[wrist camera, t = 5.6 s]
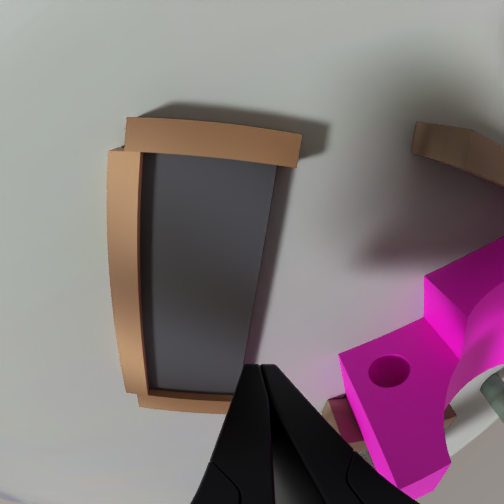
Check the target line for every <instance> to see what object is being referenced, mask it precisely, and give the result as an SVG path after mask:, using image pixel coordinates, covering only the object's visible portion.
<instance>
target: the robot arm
mask: <svg viewBox="0 0 504 504" xmlns="http://www.w3.org/2000/svg"><path fill="white" fill-rule="evenodd" d="M190 504H419V503H418V502H417V501H415V500H414V499H412V498H411V497H409V496H408V495H407V494H405V493H404V492H403V491H401V490H400V489H398V488H397V487H396V486H394V485H393V484H392V483H391V482H389V481H388V480H387V479H386V478H384V477H383V476H382V475H381V474H379V473H378V472H377V471H376V470H375V469H374V468H373V467H372V466H371V465H369V464H368V463H367V462H366V461H365V460H364V459H363V458H362V457H361V456H360V455H359V454H358V453H357V452H356V451H354V449H353V448H352V447H351V446H350V445H349V444H348V443H347V442H346V441H345V440H344V439H343V438H342V436H341V435H340V434H339V433H338V432H337V431H336V430H335V429H334V428H333V427H332V426H331V425H330V424H329V423H328V422H327V421H326V420H325V419H324V417H323V416H322V415H321V414H320V413H319V412H318V411H317V410H316V409H315V408H314V407H313V406H312V405H311V403H310V402H309V401H308V400H307V399H306V398H305V397H304V396H303V395H302V394H301V392H300V391H299V390H298V389H297V388H296V387H295V386H294V385H293V384H292V382H291V381H290V380H289V379H288V378H287V377H286V376H285V375H284V373H283V372H282V371H281V370H280V369H279V368H278V367H277V366H276V365H275V364H262V365H258V364H245V365H244V366H243V369H242V372H241V375H240V378H239V381H238V383H237V386H236V389H235V392H234V395H233V398H232V401H231V403H230V406H229V409H228V412H227V415H226V417H225V420H224V423H223V426H222V428H221V431H220V434H219V437H218V439H217V442H216V445H215V448H214V450H213V453H212V456H211V458H210V462H209V463H208V466H207V469H206V471H205V474H204V476H203V479H202V481H201V483H200V486H199V488H198V490H197V492H196V494H195V496H194V498H193V500H192V501H191V503H190Z"/></svg>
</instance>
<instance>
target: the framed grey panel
mask: <svg viewBox="0 0 504 504" xmlns="http://www.w3.org/2000/svg"><path fill="white" fill-rule="evenodd" d="M301 139H302V135H301V134H296V133H290V132H284V131H278V130H272V129H266V128H259V127H252V126H244V125H236V124H227V123H218V122H208V121H197V120H184V119H168V118H145V117H127V122H126V133H125V145H124V148H116V149H113V150H110V151H108V167H107V240H108V260H109V274H110V286H111V297H112V306H113V315H114V323H115V330H116V337H117V344H118V350H119V357H120V362H121V368H122V373H123V379H124V384H125V389H126V392H127V393H134V394H137V397H138V402H139V407H144V408H152V409H160V410H170V411H180V412H193V413H210V414H227V412H228V409H229V406H230V403H231V401H232V398H233V395H234V392H235V389H236V386H237V383H238V381H239V378H240V375H241V372H242V367H243V362H244V356H245V351H246V345H247V339H248V334H249V328H250V322H251V317H252V311H253V305H254V299H255V294H256V288H257V282H258V276H259V270H260V265H261V259H262V253H263V247H264V241H265V235H266V229H267V223H268V217H269V211H270V205H271V199H272V193H273V187H274V181H275V175H276V169H277V165H280V166H286V167H293V168H297V163H298V157H299V151H300V145H301ZM411 153H413V154H417V155H420V156H423V157H426V158H429V159H432V160H435V161H437V162H440V163H443V164H446V165H449V166H451V167H454V168H457V169H459V170H462V171H464V172H467V173H470V174H472V175H475V176H477V177H479V178H482V179H484V180H487V181H489V182H491V183H494V184H496V185H498V186H500V187H503V188H504V148H503V147H502V146H500V145H498V144H497V143H495V142H493V141H491V140H489V139H488V138H486V137H484V136H482V135H480V134H478V133H477V132H475V131H473V130H469V129H463V128H457V127H450V126H444V125H436V124H428V123H420V122H416V128H415V134H414V140H413V145H412V150H411ZM480 391H481V392H482V394H483V395H484V397H485V398H486V399H487V401H488V402H489V403H490V405H491V406H492V408H493V409H494V410H495V412H496V413H497V415H498V416H499V418H500V419H501V420H502V422H503V423H504V382H503V381H502V379H501V378H500V377H499V376H498V375H497V374H493V375H492V376H490V377H489V378H488V379H487V380H486V381H485V382H484V383H483V385H482V386H481V388H480ZM322 416H323V417H324V419H325V420H326V421H327V422H328V423H329V424H330V425H331V426H332V427H333V428H334V429H335V430H336V431H337V432H338V433H339V434H340V435H341V436H342V438H343V439H344V440H345V441H346V442H347V443H348V444H349V445H350V446H351V447H352V448H353V449H354V451H356V452H360V451H365V450H368V448H367V446H366V443H365V441H364V438H363V436H362V434H361V431H360V429H359V426H358V424H357V421H356V419H355V417H354V414H353V412H352V409H351V407H350V405H349V402H348V400H347V398H343V399H331V400H328V401H327V403H326V405H325V407H324V409H323V411H322ZM456 417H457V415H456V413H455V412H454V410H453V409H452V407H451V406H450V404H448V406H447V408H446V409H445V411H444V429H446V428H448V426H449V425H450V424H451V423H452V422H453V420H454V419H455V418H456Z"/></svg>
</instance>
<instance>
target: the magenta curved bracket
mask: <svg viewBox="0 0 504 504" xmlns="http://www.w3.org/2000/svg"><path fill="white" fill-rule="evenodd" d="M338 355H339V360H340V365H341V371H342V376H343V381H344V387H345V392H346V397H347V400H348V402H349V405H350V407H351V409H352V412H353V414H354V417H355V419H356V421H357V424H358V426H359V429H360V431H361V434H362V436H363V438H364V441H365V443H366V446H367V448H368V451H369V453H370V456H371V458H372V461H373V463H374V466H375V468H376V471H377V472H378V473H379V474H381V475H382V476H383V477H384V478H386V479H387V480H388V481H389V482H391V483H392V484H393V485H394V486H396V487H397V488H398V489H400V490H401V491H403V492H404V493H405V494H407V495H408V496H409V497H411V498H412V499H414V500H415V499H417V498H419V497H421V496H423V495H425V494H427V493H429V492H431V491H433V490H434V489H435V488H436V486H437V485H438V483H439V482H440V480H441V478H442V477H443V475H444V474H445V472H446V471H447V469H448V468H449V466H450V464H451V460H450V457H449V454H448V450H447V445H446V440H445V432H444V411H445V409H446V408H447V406H448V404H449V403H450V402H451V400H452V399H453V398H454V396H455V395H456V394H457V393H458V392H459V391H460V390H461V389H462V388H463V387H464V386H465V385H466V384H467V383H468V382H470V381H471V380H472V379H473V378H475V377H476V376H478V375H479V374H481V373H483V372H484V371H486V370H488V369H490V368H493V367H495V366H498V365H501V364H504V236H503V237H502V238H500V239H498V240H496V241H494V242H492V243H490V244H488V245H487V246H485V247H483V248H481V249H479V250H477V251H475V252H473V253H471V254H469V255H467V256H465V257H463V258H461V259H459V260H457V261H455V262H453V263H451V264H449V265H446V266H444V267H442V268H440V269H438V270H436V271H434V272H431V273H429V274H427V275H425V276H424V317H423V318H421V319H419V320H417V321H415V322H413V323H411V324H409V325H406V326H404V327H402V328H400V329H398V330H395V331H393V332H391V333H389V334H386V335H384V336H382V337H379V338H377V339H375V340H372V341H370V342H368V343H365V344H363V345H360V346H358V347H355V348H353V349H350V350H348V351H345V352H342V353H340V354H338Z"/></svg>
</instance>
